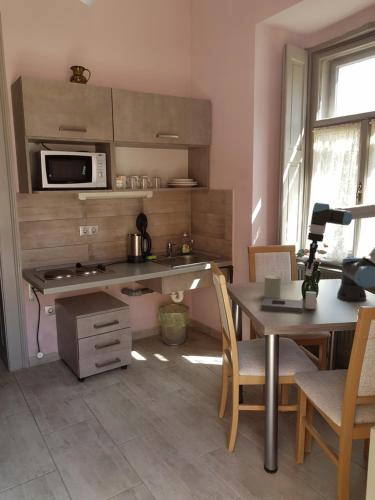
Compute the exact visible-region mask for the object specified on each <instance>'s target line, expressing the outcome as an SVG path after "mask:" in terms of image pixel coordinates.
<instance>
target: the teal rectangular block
mask: <svg viewBox="0 0 375 500" xmlns="http://www.w3.org/2000/svg"><path fill="white" fill-rule="evenodd" d="M316 304H317V292H316V291H309V290H308V291H307V290H306V291H305V309H310V310H316V309H317V305H316Z"/></svg>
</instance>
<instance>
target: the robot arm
mask: <svg viewBox="0 0 375 500" xmlns="http://www.w3.org/2000/svg"><path fill="white" fill-rule="evenodd" d="M369 218H375V202H373V203H372V202H371V203H363V204H357V205H355V204H354V205H347V206H340V207H330V204H329V203H324V202H315V203H314V205H313V208H312V213H311V218H310V219H311V220H310V224H309V225H308V228H309V232H308V235H307V240H309V241H311V243H310V244H309V250H308V251H309V253H308V259H307V260H305V261H306V263H307V265H306V267H305V268H306V269H305V276H310V277H311V276H312V272H313V269H314V263H315V261H316V260H317V258H316V253H317V252H318V248H319V244H318V242H319V243H320V242H321V243H322V242H323V240H324V236H325V235H324V234H325V232H326V226H327V224H335V225H340V226H349V225H350V224H351V223H352V220H360V219H369ZM341 262H342V263H341V277H340V278H341V280H340V286H339V289H338V291H337V293H336V298H337V299H339V300H341V301H344V302H351V301H362V302H365V301H367V293H366V289H370V288H373V287H375V246H374V247H373V249H372V250H371V251H370V253H368V255H366V256H362V257H344V258H342V261H341ZM364 300H365V301H364Z"/></svg>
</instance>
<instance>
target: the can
mask: <svg viewBox="0 0 375 500" xmlns="http://www.w3.org/2000/svg"><path fill="white" fill-rule="evenodd" d="M281 280H282V277H281V276H280V275H273V274H269V275H265V276H264V290H263V291H264V292H263V297H264V298H274V299H281Z"/></svg>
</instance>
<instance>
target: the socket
mask: <svg viewBox="0 0 375 500" xmlns="http://www.w3.org/2000/svg"><path fill="white" fill-rule="evenodd" d="M303 302H304V300H302V299H301V300H298V299H287V298H286V299H284V298H277V299H274V298H266V297H264V298H263V301H262V303H261V309H260V310H262V311H273V312H283V313H284V312H285V313H295V314H296V313H298V314H303V307H304V306H303V304H304V303H303Z"/></svg>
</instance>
